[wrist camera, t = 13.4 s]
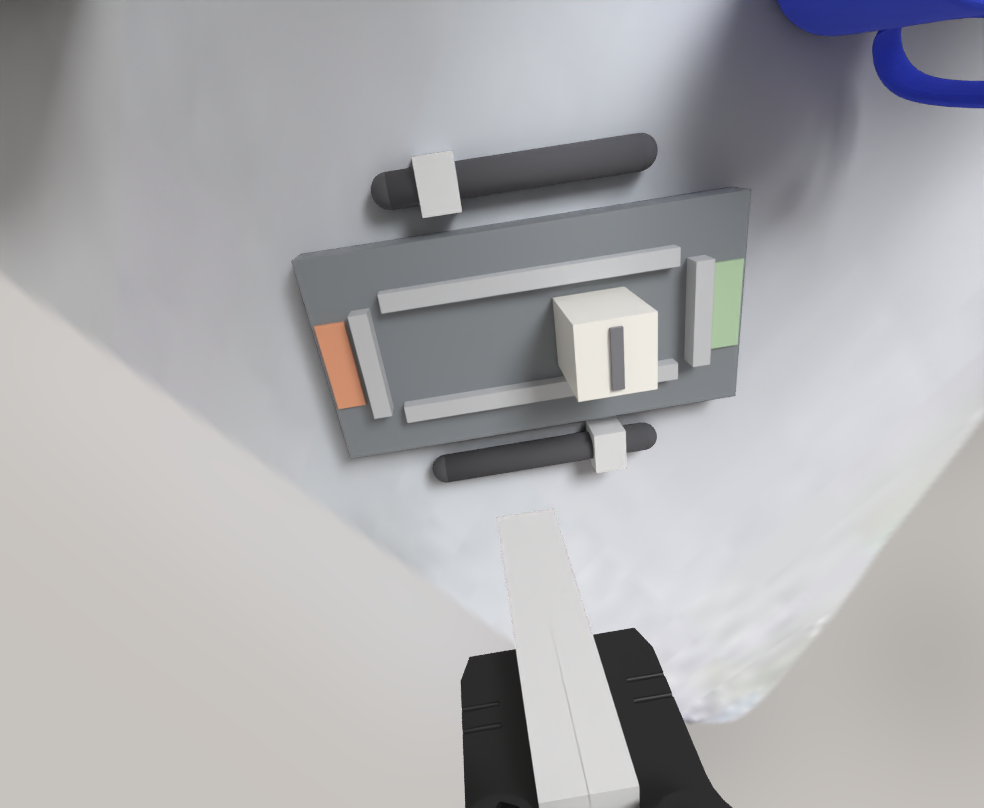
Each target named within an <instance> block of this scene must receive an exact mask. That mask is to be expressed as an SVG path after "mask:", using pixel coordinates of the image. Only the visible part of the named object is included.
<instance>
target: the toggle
mask: <svg viewBox="0 0 984 808" xmlns="http://www.w3.org/2000/svg"><path fill="white" fill-rule="evenodd" d="M552 299H553V311H554V322H555V334H556V345H557V356H558V365H559V367H560V369H561V371H562V373H563V375H564V376H565V378H566V380H567V382H568V384H569V386H570V387H571V389H572V391H573V393H574V395H575V397H576V398H577V400H578V402H582V401H588V400H594V399H600V398H606V397H613V396H619V395H625V394H631V393H637V392H643V391H649V390H655V389H658V311H656V310H655V309H654V308H652V307H651V306H650V305H648V304H647V303H646V302H644V301H643V300H642V299H640V298H639V297H638V296H636V295H635V294H634V293H632V292H631V291H630V290H628V289H627V288H626V287H624V286H623V287H617V288H610V289H604V290H598V291H592V292H585V293H579V294H573V295H566V296H560V297H554V298H552Z"/></svg>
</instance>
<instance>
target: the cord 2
mask: <svg viewBox="0 0 984 808" xmlns="http://www.w3.org/2000/svg"><path fill="white" fill-rule="evenodd" d="M585 421H586V432H581V433H575V434H568V435H562V436H556V437H550V438H544V439H538V440H532V441H526V442H520V443H514V444H508V445H501V446H495V447H489V448H483V449H477V450H471V451H465V452H459V453H453V454H447V455H442V456H440V457H439V458H437V459H436V461H435V462H434V465H433V472H434V475H435V477H436V478H437V479H438V480H440V481H442V482H453V481H459V480H465V479H471V478H478V477H484V476H490V475H496V474H502V473H508V472H514V471H520V470H526V469H532V468H538V467H544V466H550V465H556V464H562V463H568V462H574V461H580V460H586V459H590V461H591V463H592V466H593V468H594V470H595V472H596V473H602V472H609V471H615V470H621V469H627V460H626V453H629V452H635V451H641V450H646V449H649V448H651V447H652V446H653V445H654V444H655V442H656V439H657V434H656V431H655V429H654V428H653V427H652V426H651V425H649V424H647V423H635V424H629V425H623V426H622V425H621V423H620V422H619V420H618V419H617V417H616V416H610V417H603V418H597V419H591V420H585Z"/></svg>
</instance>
